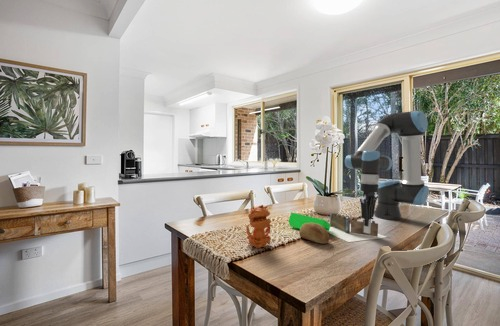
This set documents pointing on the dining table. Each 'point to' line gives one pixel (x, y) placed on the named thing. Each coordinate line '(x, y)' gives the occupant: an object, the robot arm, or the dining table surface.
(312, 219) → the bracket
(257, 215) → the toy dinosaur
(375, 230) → the fence panel
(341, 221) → the fence fixed
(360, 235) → the card
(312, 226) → the bread roll
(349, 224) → the hinge post
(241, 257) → the dining table surface
